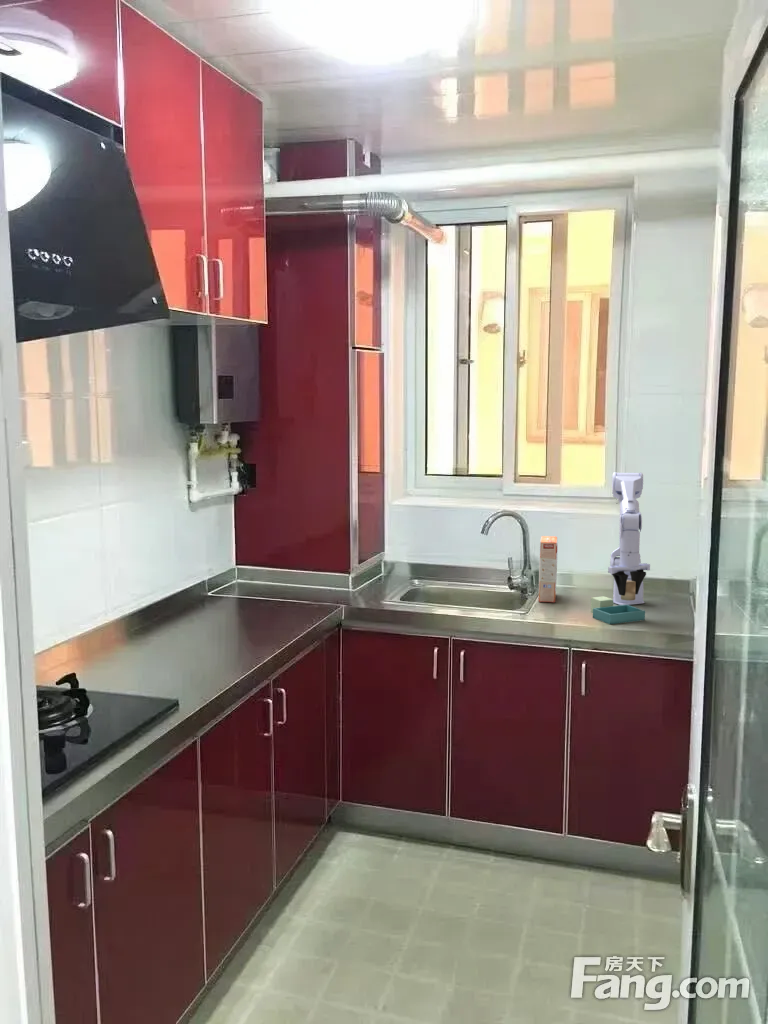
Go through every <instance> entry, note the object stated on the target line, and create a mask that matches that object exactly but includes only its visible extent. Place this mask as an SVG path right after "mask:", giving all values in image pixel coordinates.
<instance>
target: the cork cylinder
mask: <svg viewBox="0 0 768 1024" xmlns="http://www.w3.org/2000/svg"><path fill="white" fill-rule="evenodd" d="M635 589H636V582H635V581H629V580H627V582H626V592H625V596H622V595H621V599H622V600H635Z"/></svg>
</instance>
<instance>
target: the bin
mask: <svg viewBox="0 0 768 1024" xmlns="http://www.w3.org/2000/svg"><path fill="white" fill-rule="evenodd" d="M592 618H593V619H595V620H598V621H600V622H602V623H605V624H608V625H615V624H624V623H625V622H626V623H631V622H633V621H634V622H641V621H640V620H642V621H645V620H646V610H645V609H641V608H638V607H635V606H632V605H619V604H618V605H613V606H610V607H601V608H593V613H592ZM634 622H633V623H634ZM626 623H625V624H626Z"/></svg>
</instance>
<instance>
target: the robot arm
mask: <svg viewBox="0 0 768 1024" xmlns="http://www.w3.org/2000/svg"><path fill="white" fill-rule="evenodd" d="M611 478H612V479H611V491H612V492H611V493H612V497H613V498H616V499H617V500H618V503H619V532H618V534H619V535H618V536H619V537H618V538H619V539H618V541H619V542H618V543H619V544H618V545H619V546H618V547H617V548H616V549H614V550H613V551H611V554H610V558H609V559H610V561H609V563H610V564H609V566H607V573H608V574H610V575H611V576H612V577H613V593H612V594H613V595H612V596H613V598H612V599H613V604H616V605H618V606H619V605H630V606H632V605H640V604H645V601H644V578H645V577H646V576H647V572H646V571H651V563H648V562H647V563H646V562H645V563H641V562H642V561H641V554H640V545H641V544H640V541H641V540H640V538H641V532H642V527H643V517H642V513H641V511H640V503H639V501H638V500H637V499H639V498H641V495H642V492H643V489H644V474H643V472H616V471H613V473H612V477H611ZM627 580H629V581H635V582H636V589H635V600H622V599H621V595H622V596H625V592H626V582H627Z"/></svg>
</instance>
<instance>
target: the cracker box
mask: <svg viewBox="0 0 768 1024" xmlns="http://www.w3.org/2000/svg"><path fill="white" fill-rule="evenodd" d="M538 567H539V568H538V570H539V571H538V573H539V574H538V602H539V603H556V596H557V593H556V592H557V578H558V577H557V576H558V574H557V573H558V572H557V571H558V537H557V536H554V535H552V536H551V535H542V536H541V537H540V543H539V565H538Z"/></svg>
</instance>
